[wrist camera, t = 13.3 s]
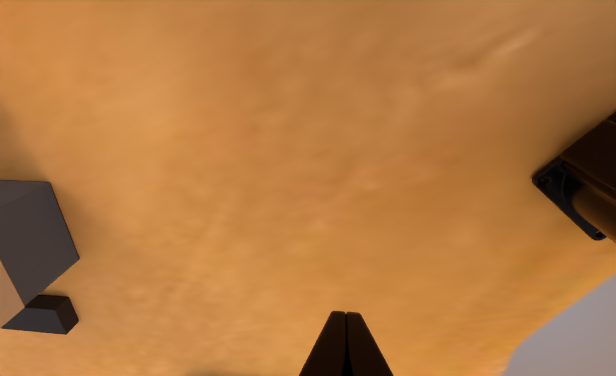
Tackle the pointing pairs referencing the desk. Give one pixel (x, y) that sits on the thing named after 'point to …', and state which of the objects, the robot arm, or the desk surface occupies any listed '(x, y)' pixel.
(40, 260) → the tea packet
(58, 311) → the strips
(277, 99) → the desk surface
